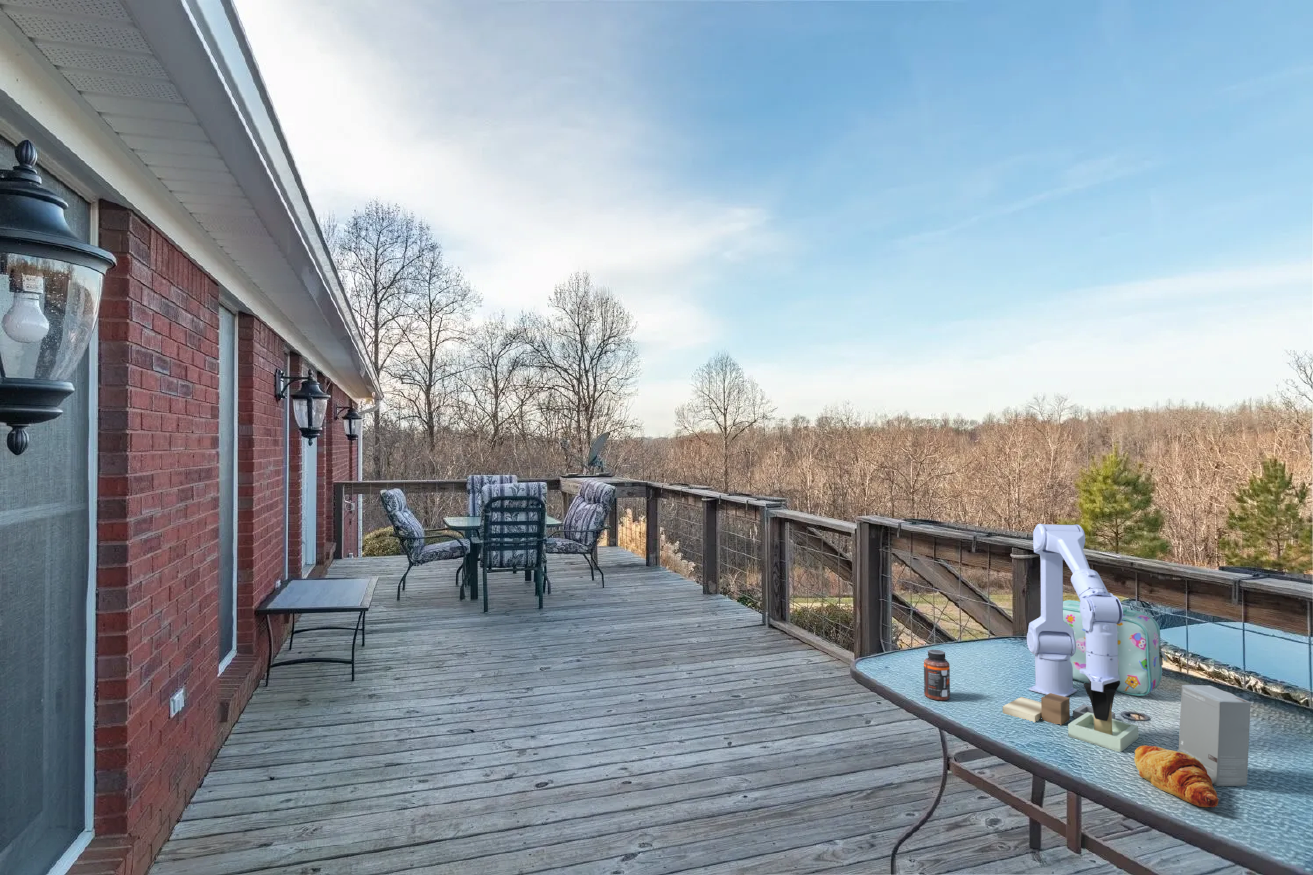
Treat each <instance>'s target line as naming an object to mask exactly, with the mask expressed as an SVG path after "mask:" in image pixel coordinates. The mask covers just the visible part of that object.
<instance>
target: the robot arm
mask: <svg viewBox="0 0 1313 875" xmlns="http://www.w3.org/2000/svg"><path fill="white" fill-rule="evenodd" d="M1032 533H1033V536H1032V538H1033V540H1032V544H1033V546H1032V548H1033V553H1034V554H1037V555H1039V556H1040V557H1039V558H1040V559H1039V560H1040V616H1039V617H1038V618H1036V619H1034V620H1032V621H1030V622H1029V623H1028V629H1027V633H1026V644H1027V645H1026V646H1027V648H1028V650H1029V651H1030V652H1031V654H1032V655H1034V667H1035V668H1034V675H1035V684H1034V685H1033V686H1030V687H1029V688H1028V690H1029V691H1031V692H1035V693H1039V694H1043V695H1047V694H1049V693H1052V694H1056V695H1060V696H1064V697H1069V696H1071V695H1072V694H1074V693H1076V692H1078V689H1077V688H1074V683H1073V681H1074V679H1073V667H1072V663H1071V661H1070V660H1071V657H1072V656H1073V655H1074V654H1075V652H1076V641H1075V637H1074V630H1073V628H1072V627H1071V626H1070V625H1069V624H1068V623H1066V622H1065V621H1063V601H1064V585H1063V583H1064V579H1063V578H1064V574H1063V573H1064V571H1063V570H1064V569H1063V566H1064V565H1063V561H1065V563H1066V565H1067V567H1068V568H1069V570H1070V572H1071V573H1072V575H1071V577H1070V582H1071V585H1072V586H1073V588H1074V591H1075V593H1076V595H1077V597H1078V599H1079V602H1080V614H1081V617H1082V625H1083V628H1084V629H1085V639H1086V669H1084V668H1081V669H1080V673H1081V674H1085V675H1086V676H1087V677H1088V678H1089V679H1088V680H1089V681H1090V683H1086V682H1085V683H1084V684H1083V688H1084V690H1085V692H1086V693H1087V696H1088V697H1089V701H1090V703H1091V707H1092V708H1093V712H1094V716H1095V719H1099V720H1103V721H1107V720H1108V717H1109V711H1110V705H1111V708H1112V709H1113V705H1114V704H1113V703H1114V699H1115V695H1116V693H1117V692H1118V691H1117V688H1118V687H1119V685H1120V681H1119V675H1118V638H1117V624H1120V623H1121V622H1122V619H1123V609H1122V608H1123V606H1122V603H1121V601H1120V598H1119V597H1117V596H1115V595H1114V594H1113V593H1111V592H1109V591H1108V589H1107V587H1106V585H1105V583H1104V582H1103V579H1102V578H1101V575H1100V574H1099V573H1098V571H1096V570H1095V569H1091V568H1090V565H1089V563H1088V559H1087V558H1086V554H1085V551H1084V548H1085V544H1086V533H1085V531H1084V529H1083V528H1082V526H1081V525H1079V524H1043V523H1037V524H1036V526H1035V528H1034V529H1033V532H1032Z"/></svg>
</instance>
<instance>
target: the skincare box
mask: <svg viewBox="0 0 1313 875" xmlns="http://www.w3.org/2000/svg"><path fill="white" fill-rule="evenodd" d="M1251 703H1252V702H1250V701H1249V700H1246V699H1244V698H1241V697H1239V696H1236V695H1235V694H1233V693H1231V692H1229V691H1225V690H1222V689H1220V688H1217V687H1215V686H1212V685H1210V684H1209V685H1208V684H1207V685H1206V684H1205V685H1203V684H1201V685H1200V684H1199V685H1198V684H1181V697H1180V711H1179V712H1180V717H1179V734H1178V750H1177V752H1183V753H1186V754H1188V755H1190V756H1192V757H1195V758H1196V759H1197V760H1199V761H1200V762H1201V763H1202V764H1203V765H1204V767H1205V768H1206V770H1207V774H1208V775H1209V776H1210V778H1211V779H1212V780H1211V781H1212V785H1214V786H1216V787H1227V786H1228V787H1229V786H1230V787H1233V786H1235V787H1238V786H1239V787H1240V786H1241V787H1242V786H1247V785H1248V770H1249V769H1248V767H1249V744H1250V743H1249V742H1250V726H1251V725H1250V722H1251V721H1250V720H1251Z"/></svg>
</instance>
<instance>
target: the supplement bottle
mask: <svg viewBox="0 0 1313 875" xmlns="http://www.w3.org/2000/svg"><path fill="white" fill-rule="evenodd" d="M927 656H928V657H927V658H925V659H923V660H924V661H923V692H924V693H923V694H924V696H925V697H927V698H928V699H931V700H935V701H942V702H943V701H948V700H949V699H950V697H951V680H950V679H951V678H950V674H951V673H950V672H951V670H950V668H951V667H950V662H949V661H948V660H947V659H946V652H945V651H944V650H940V649H929V650H927Z"/></svg>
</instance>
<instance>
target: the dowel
mask: <svg viewBox="0 0 1313 875" xmlns="http://www.w3.org/2000/svg"><path fill="white" fill-rule="evenodd" d="M1112 709H1113V707H1112V708H1111V705H1110V711H1109V717H1108V720H1107V721H1103V720H1099V719H1095V716H1094V730H1096V731H1099V732H1103V733H1106V734H1109V735H1112V712H1113V711H1112Z"/></svg>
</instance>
